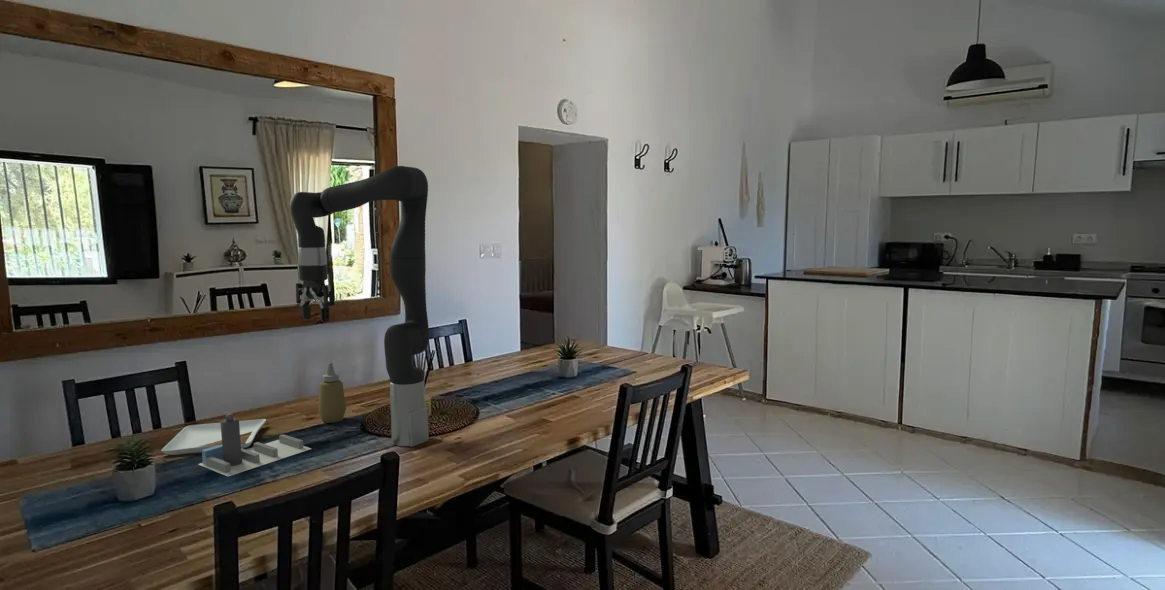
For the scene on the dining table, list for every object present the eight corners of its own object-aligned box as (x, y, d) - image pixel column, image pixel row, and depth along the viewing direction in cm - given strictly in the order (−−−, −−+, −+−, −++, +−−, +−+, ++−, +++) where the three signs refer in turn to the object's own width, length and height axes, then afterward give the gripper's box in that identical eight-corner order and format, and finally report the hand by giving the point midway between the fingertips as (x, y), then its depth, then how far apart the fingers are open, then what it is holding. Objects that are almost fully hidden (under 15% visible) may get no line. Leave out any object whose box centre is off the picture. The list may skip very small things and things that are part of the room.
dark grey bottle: (245, 462, 159) (241, 413, 157) (229, 467, 156) (225, 418, 154) (236, 458, 161) (232, 410, 159) (220, 464, 158) (216, 415, 156)
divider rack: (311, 452, 169) (311, 435, 168) (228, 480, 151) (227, 462, 150) (281, 442, 176) (280, 426, 176) (198, 468, 158) (196, 450, 158)
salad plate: (160, 462, 163) (159, 449, 162) (187, 435, 183) (186, 424, 183) (251, 454, 168) (250, 442, 168) (267, 429, 189) (267, 418, 188)
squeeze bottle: (328, 426, 190) (325, 367, 188) (313, 421, 195) (310, 363, 193) (352, 419, 197) (349, 362, 194) (337, 415, 201) (334, 359, 199)
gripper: (285, 263, 181) (289, 320, 183) (316, 264, 173) (319, 323, 175) (309, 262, 187) (312, 316, 189) (340, 263, 180) (343, 320, 181)
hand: (316, 320), depth 182 cm, fingers open, 8 cm apart
